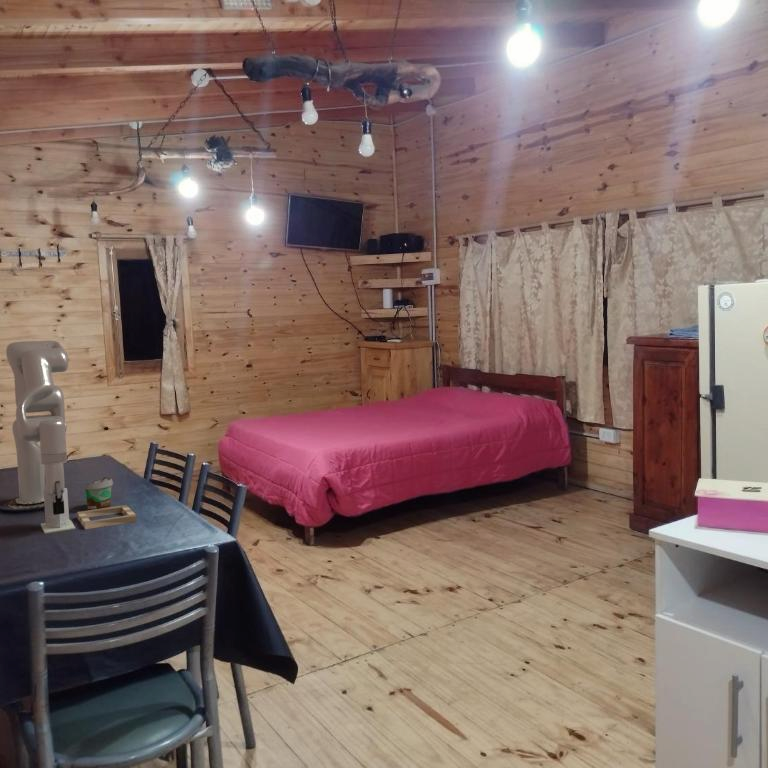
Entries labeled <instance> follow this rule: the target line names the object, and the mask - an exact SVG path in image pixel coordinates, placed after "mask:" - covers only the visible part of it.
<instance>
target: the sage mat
mask: <svg viewBox="0 0 768 768" xmlns="http://www.w3.org/2000/svg"><path fill="white" fill-rule="evenodd" d="M40 527H41V529H42V532H43V534H50V533H57V532H64V531H70V530H71V531H72V530H76V526H75V525H74V523H73V521H72V520H71V519H69V524H68V525H66V526H63V527H49V526H46V522H44V523H40Z"/></svg>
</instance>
